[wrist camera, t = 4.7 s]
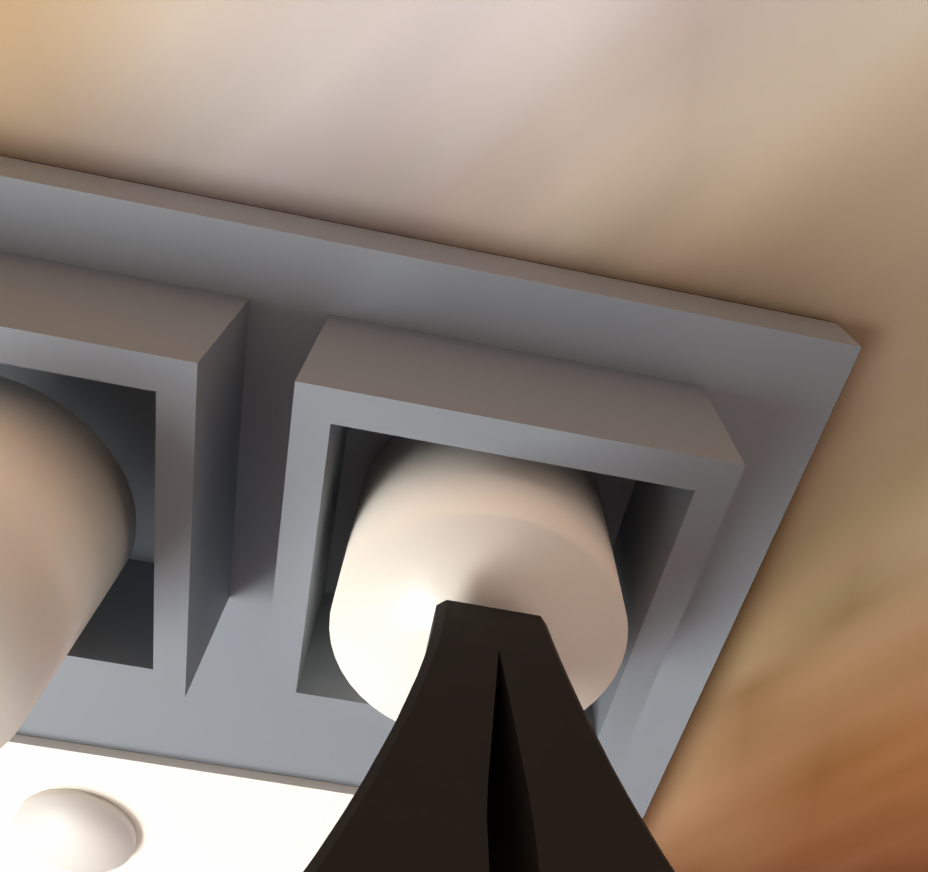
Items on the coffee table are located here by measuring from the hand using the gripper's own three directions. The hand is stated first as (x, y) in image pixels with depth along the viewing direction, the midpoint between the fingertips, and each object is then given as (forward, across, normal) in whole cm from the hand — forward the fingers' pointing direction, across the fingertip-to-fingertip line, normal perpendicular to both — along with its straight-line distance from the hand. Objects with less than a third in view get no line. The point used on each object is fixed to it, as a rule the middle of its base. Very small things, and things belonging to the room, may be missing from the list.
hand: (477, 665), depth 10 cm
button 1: (+3, 0, 0) cm, 3 cm away
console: (+5, +7, +5) cm, 10 cm away
